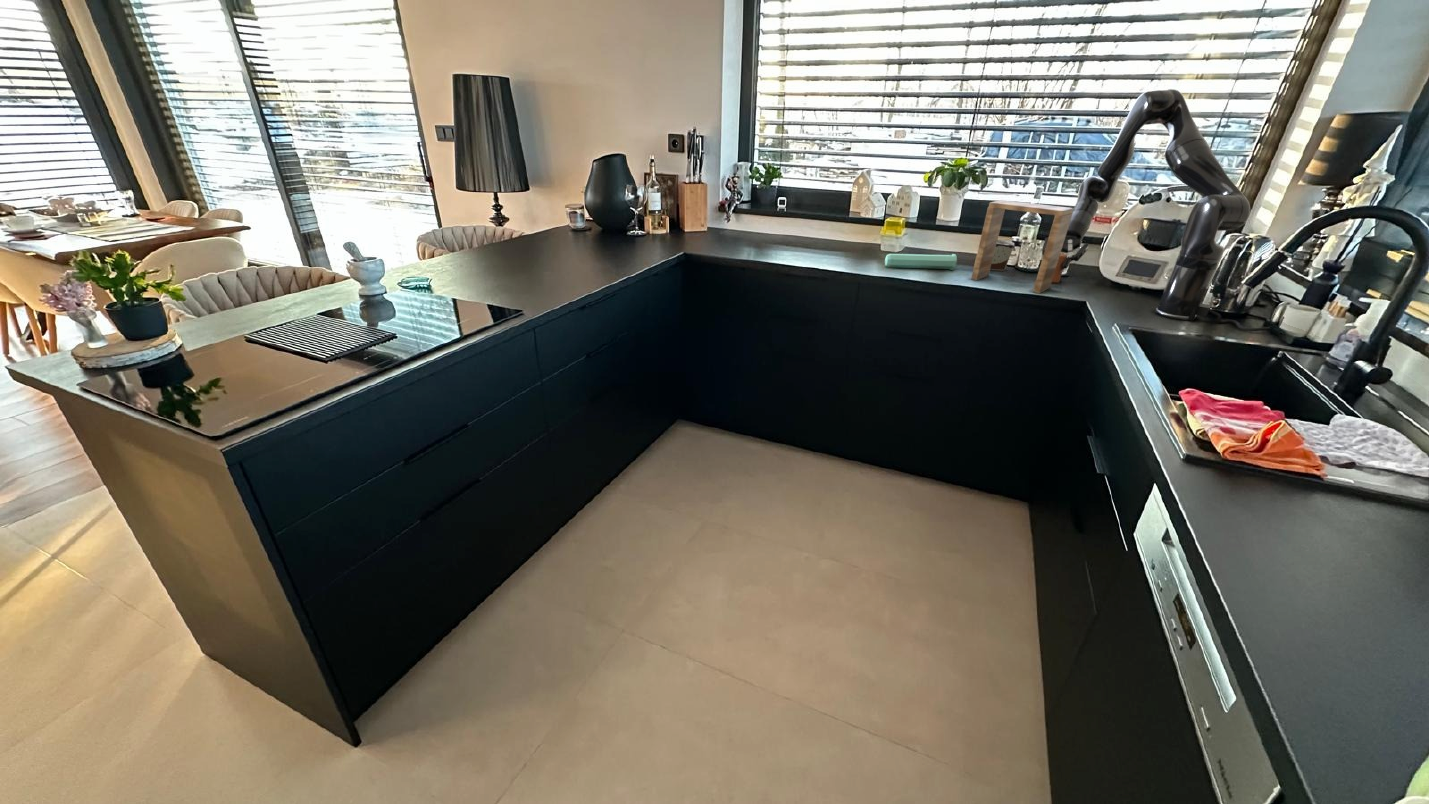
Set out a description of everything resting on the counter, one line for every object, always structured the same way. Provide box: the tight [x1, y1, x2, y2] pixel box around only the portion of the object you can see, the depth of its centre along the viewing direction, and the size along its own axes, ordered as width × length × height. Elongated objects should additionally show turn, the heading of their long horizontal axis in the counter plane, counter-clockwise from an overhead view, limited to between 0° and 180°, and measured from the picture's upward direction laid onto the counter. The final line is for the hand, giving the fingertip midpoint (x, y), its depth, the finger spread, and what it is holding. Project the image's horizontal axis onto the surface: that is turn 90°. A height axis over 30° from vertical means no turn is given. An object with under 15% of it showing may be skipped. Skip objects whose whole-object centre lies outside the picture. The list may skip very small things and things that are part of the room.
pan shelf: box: [970, 199, 1074, 294], centre depth 184 cm, size 22×10×26 cm, turn 44°
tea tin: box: [1051, 252, 1068, 283], centre depth 192 cm, size 5×5×9 cm
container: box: [884, 253, 958, 271], centre depth 205 cm, size 6×6×25 cm
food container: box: [990, 239, 1016, 272], centre depth 207 cm, size 12×6×10 cm, turn 84°
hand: (1053, 266), depth 191 cm, fingers closed on tea tin, 5 cm apart
